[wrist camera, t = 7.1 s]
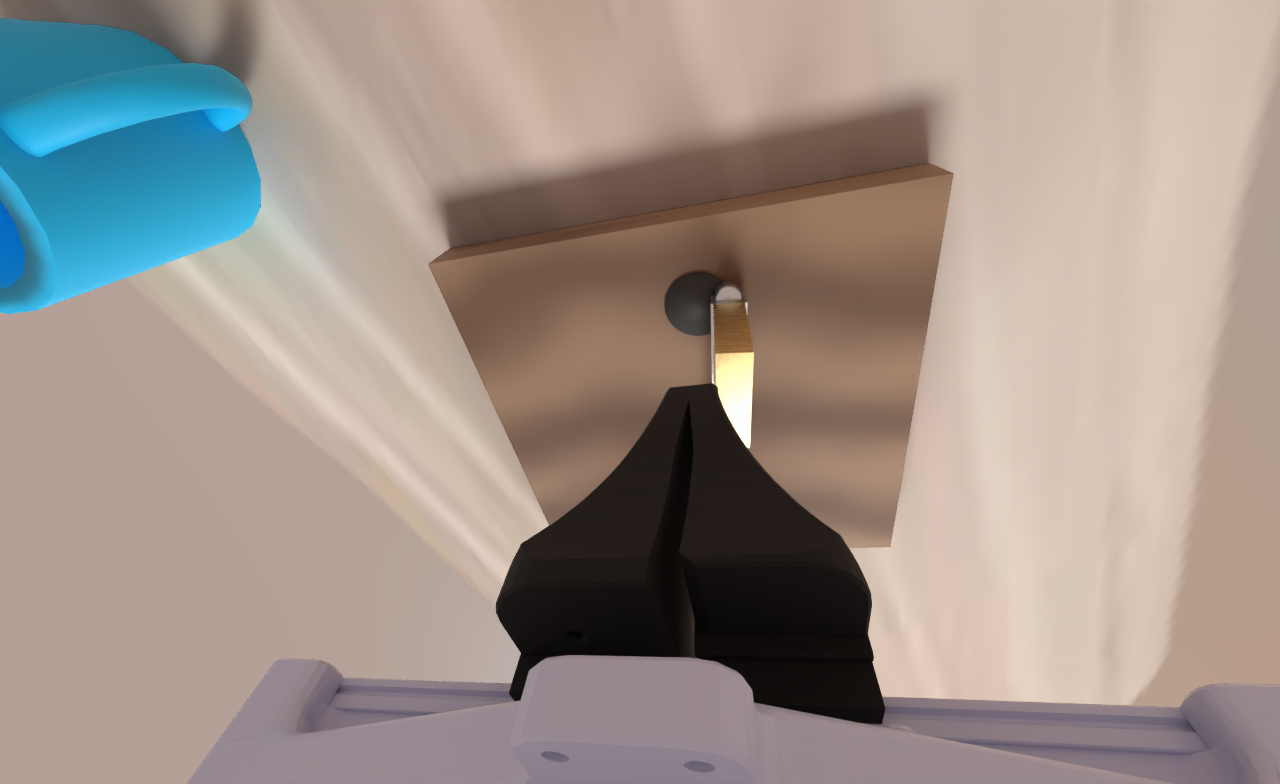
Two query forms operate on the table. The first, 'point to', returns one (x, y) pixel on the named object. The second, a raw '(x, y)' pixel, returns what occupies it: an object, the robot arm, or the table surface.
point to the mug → (112, 159)
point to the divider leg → (732, 355)
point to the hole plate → (681, 335)
